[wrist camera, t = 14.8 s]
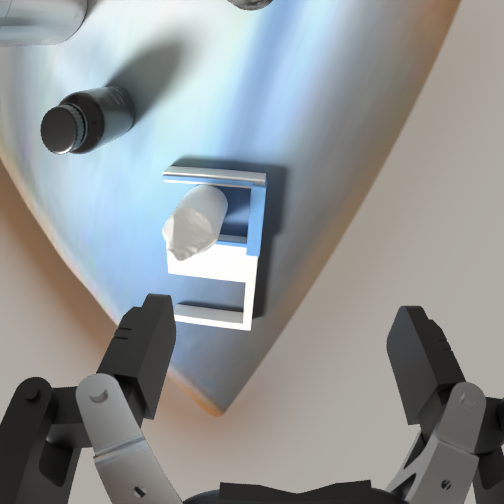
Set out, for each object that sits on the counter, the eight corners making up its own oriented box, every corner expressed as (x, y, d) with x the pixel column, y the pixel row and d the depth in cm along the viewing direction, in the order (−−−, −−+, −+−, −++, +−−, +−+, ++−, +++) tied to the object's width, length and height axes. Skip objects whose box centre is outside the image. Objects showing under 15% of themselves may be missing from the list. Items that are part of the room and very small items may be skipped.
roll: (203, 226, 29) (215, 278, 31) (224, 181, 39) (232, 223, 42) (143, 232, 29) (158, 280, 32) (178, 187, 40) (187, 227, 42)
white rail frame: (177, 309, 50) (171, 324, 47) (169, 166, 38) (160, 174, 35) (253, 319, 50) (251, 335, 47) (267, 173, 38) (266, 183, 35)
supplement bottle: (122, 147, 37) (70, 178, 27) (83, 122, 36) (24, 146, 25) (147, 100, 34) (96, 115, 24) (105, 76, 32) (45, 85, 22)
